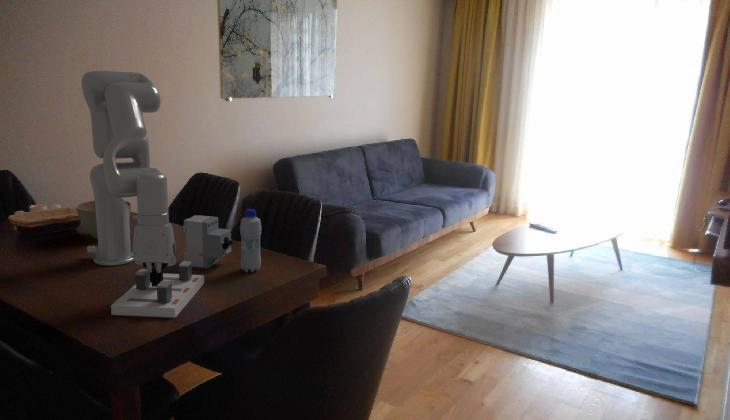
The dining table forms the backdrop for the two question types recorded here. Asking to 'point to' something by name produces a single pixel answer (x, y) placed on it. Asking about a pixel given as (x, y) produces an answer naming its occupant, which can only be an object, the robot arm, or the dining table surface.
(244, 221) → the bottle
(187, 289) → the breaker panel
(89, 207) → the olive rounded bowl
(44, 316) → the dining table surface
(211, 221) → the circuit breaker
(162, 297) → the block
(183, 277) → the block
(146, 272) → the block
